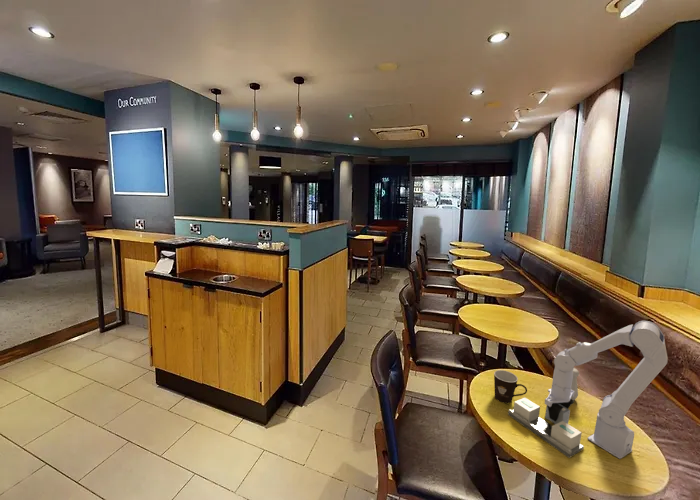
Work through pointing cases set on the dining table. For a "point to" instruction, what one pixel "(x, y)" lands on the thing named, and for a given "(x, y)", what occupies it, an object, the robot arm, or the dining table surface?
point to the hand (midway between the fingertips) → (556, 417)
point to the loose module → (561, 417)
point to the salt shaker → (575, 384)
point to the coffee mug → (506, 386)
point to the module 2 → (566, 435)
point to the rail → (544, 433)
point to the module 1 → (526, 409)
